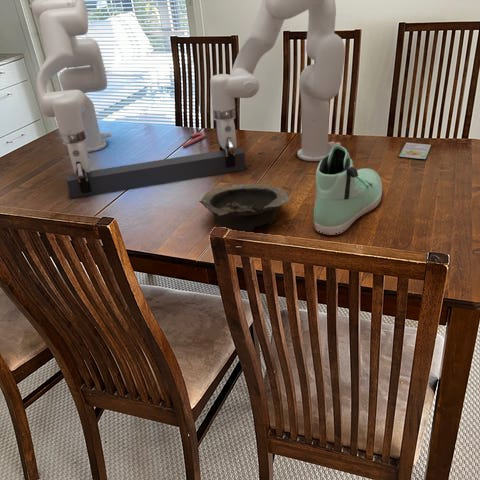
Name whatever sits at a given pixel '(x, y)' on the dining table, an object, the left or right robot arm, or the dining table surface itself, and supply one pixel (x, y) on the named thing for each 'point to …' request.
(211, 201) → the stone bowl
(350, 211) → the sneaker
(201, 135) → the red elongated piece
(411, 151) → the baking ingredient package
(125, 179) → the beam
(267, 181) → the dining table surface
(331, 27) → the right robot arm
